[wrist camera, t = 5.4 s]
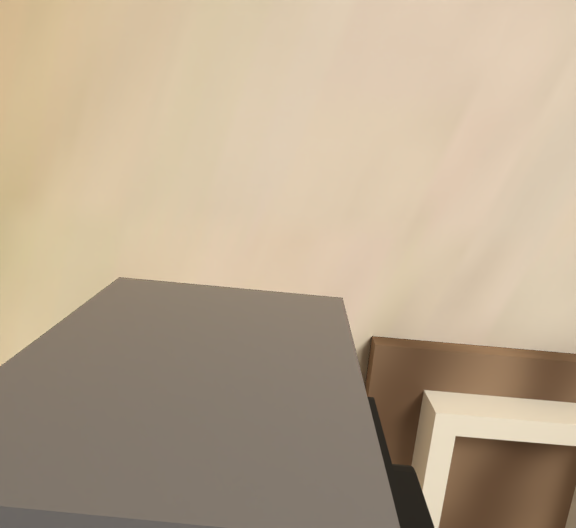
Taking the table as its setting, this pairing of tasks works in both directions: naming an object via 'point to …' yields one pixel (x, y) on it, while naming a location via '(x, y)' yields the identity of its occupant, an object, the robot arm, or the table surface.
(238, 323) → the grey rectangular block
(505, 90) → the table surface
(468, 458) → the brown piece
